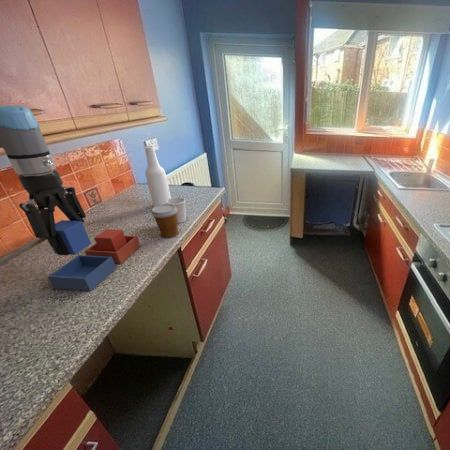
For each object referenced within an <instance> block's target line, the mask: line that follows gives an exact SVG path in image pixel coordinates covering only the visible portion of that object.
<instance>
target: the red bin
mask: <svg viewBox="0 0 450 450" xmlns="http://www.w3.org/2000/svg"><path fill="white" fill-rule="evenodd" d="M125 238H126V241H127V244H125V245H124V246H123V247H122V248H120V249H119V250H118V251H117V252H110V251H99V249H98V246H97V244H96V243H94V244H92V245H90V246H89V247H87V249H85V250H84V253H85V255H89V256H106V257H112V258H113V261H114V264H122V263H123V262H124V261H126V260H127V259H128V258H129V257H130V256H131V255H133V253H135V252H136V251H137V250H138V249H139V248H140V247H141V244H140V241H139V238H138V235H125Z"/></svg>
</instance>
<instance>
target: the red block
mask: <svg viewBox="0 0 450 450" xmlns="http://www.w3.org/2000/svg"><path fill="white" fill-rule="evenodd" d="M125 236H126V235H125V233H124V229H113V228H112V229H111V228H107V229H104V230H103V231H102V232H100V233H99V234H97V235H95V236H94V237H93V239H94V241H95V244H97V246H98V249H99V251H110V252H117V251H118V250H119V249H120V248H122V247H123V246H124V245H125V244H127V241H126V238H125Z"/></svg>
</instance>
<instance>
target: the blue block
mask: <svg viewBox="0 0 450 450" xmlns="http://www.w3.org/2000/svg"><path fill="white" fill-rule="evenodd" d="M83 223H84V222H83ZM83 223H82V221H70V220H66V219H65V220H64V219H62V220H59V221H58V222H55V228H56V234H57V235H60V236H61V238H62V240H63V242H64V244H65V246H66V248H67V250H68V252H69V255H71V256H75V255H77V254H79V253H81V252H82V251H83V250H84V249H85V250H86V248H89V247H90V246H91V245H92V242H91V240H90V237H89V235H88V233H87V230H86V228H85V226H84V224H83ZM51 248H52V251H53V252H54V254H55V255H58V254H57V252H56V250H55V248H54V247H51ZM69 255H68V256H69Z"/></svg>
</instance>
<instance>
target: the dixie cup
mask: <svg viewBox="0 0 450 450" xmlns="http://www.w3.org/2000/svg"><path fill="white" fill-rule="evenodd" d="M186 201H187V199H186V198H185V197H181V196H175V197H171V198H170V199H168V200H166V201H165V203H166V204H173V205H175V206H176V208H177V209H178V210H177V223H178V224H180V223H181V224H182V223H184V222H186V221H187V211H186V209H187V208H186Z"/></svg>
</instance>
